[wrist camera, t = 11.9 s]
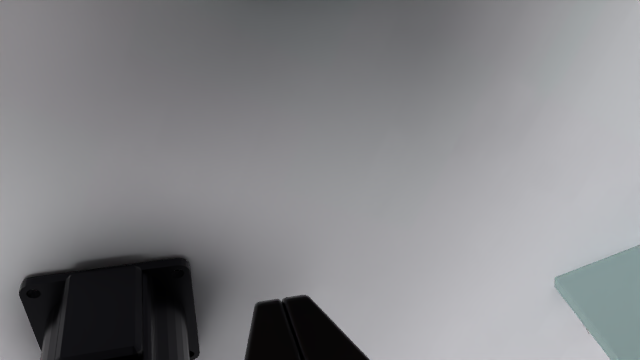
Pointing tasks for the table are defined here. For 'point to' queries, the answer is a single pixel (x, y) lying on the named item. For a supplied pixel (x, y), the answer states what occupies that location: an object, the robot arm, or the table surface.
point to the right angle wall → (608, 302)
